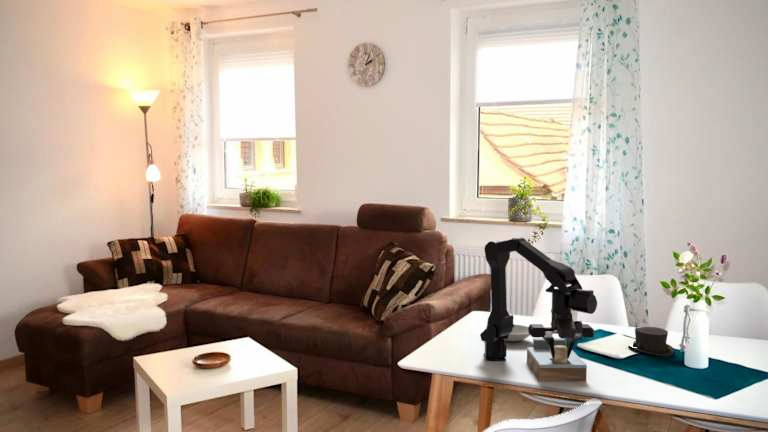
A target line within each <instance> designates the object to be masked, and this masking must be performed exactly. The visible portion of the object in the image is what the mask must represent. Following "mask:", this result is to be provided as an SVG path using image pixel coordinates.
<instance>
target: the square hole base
mask: <svg viewBox="0 0 768 432" xmlns="http://www.w3.org/2000/svg"><path fill="white" fill-rule="evenodd" d="M526 363H527V365H528V366H529V368H530V369H531V371H532V372H533V373H534V375H535V376H536V378H537V379H538V381H539V382H587V368H588V367H587V368H540V367H539V366H538V365H537V363H536V362H535V361H534V359H533V358H532V356H531V355H530V354H529V352H528V351H527V350H526ZM567 364H568V363H567Z"/></svg>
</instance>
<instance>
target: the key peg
mask: <svg viewBox="0 0 768 432" xmlns="http://www.w3.org/2000/svg"><path fill="white" fill-rule="evenodd" d="M554 353H555V355H554V360H553V364H567V347H566V345H565V346H562V345H556V346H554Z"/></svg>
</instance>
